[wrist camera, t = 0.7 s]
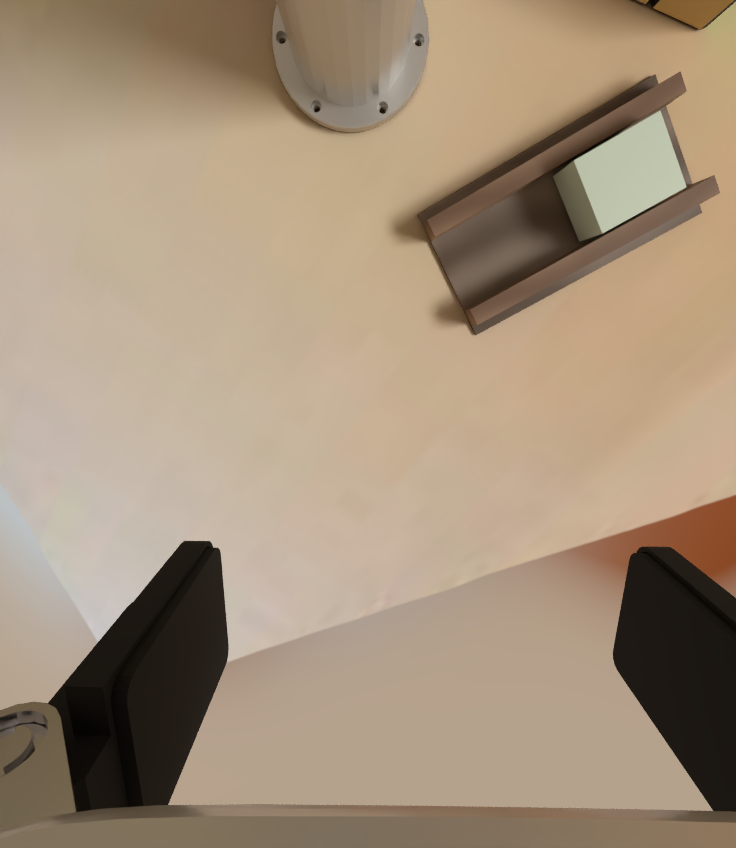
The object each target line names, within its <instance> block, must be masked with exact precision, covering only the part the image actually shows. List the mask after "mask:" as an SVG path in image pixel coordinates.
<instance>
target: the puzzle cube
mask: <svg viewBox="0 0 736 848" xmlns="http://www.w3.org/2000/svg"><path fill="white" fill-rule="evenodd" d="M637 1H639V2H641V3H643V4H645V5H646V4H647V3H649V2H651V3H652V7H653V8H654V9H656V10H658V11H660V12H663V13H665V14H667V15H669V16H671V17H674V18H676V19H678V20H680V21H682V22H685V23H687V24H689V25H691V26H694V27H696V28H698V29H700V30H701V29H703V28H705V27H707V26H708V25H709V24H710V23H711V22H712V21H714V20H715V19H716V18H717V17H718V16H719V15H720V14H722V13H723V12H724V11H725V10H726V9H727V8H728V7H730V6H731V5H732V4H733V3H734V2H735V1H736V0H637Z"/></svg>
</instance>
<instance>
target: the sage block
mask: <svg viewBox="0 0 736 848" xmlns="http://www.w3.org/2000/svg"><path fill="white" fill-rule="evenodd" d="M553 178H554V181H555V183H556V185H557V188H558V190H559V193H560V195H561V198H562V200H563V203H564V205H565V208H566V210H567V213H568V215H569V217H570V220H571V222H572V225H573V227H574V230H575V232H576V235H577V237H578V240H579V242H580V241H583V240H586V239H589V238H591V237H594V236H597V235H600V234H603V233H604V232H606V231H608V230H610V229H612V228H613V227H615V226H617V225H619V224H621V223H622V222H624V221H626V220H628V219H630V218H632V217H633V216H635V215H637V214H639V213H641V212H642V211H644V210H646V209H648V208H650V207H651V206H653V205H655V204H657V203H659V202H661V201H662V200H664V199H666V198H668V197H670V196H671V195H673V194H675V193H677V192H679V191H680V190H682V189H684V188H686V184H685V181H684V178H683V175H682V172H681V169H680V166H679V163H678V160H677V157H676V154H675V152H674V149H673V146H672V143H671V140H670V137H669V134H668V131H667V128H666V125H665V122H664V119H663V116H662V114H661V111H659V112H657V113H655V114H653V115H652V116H650V117H648V118H646V119H645V120H643V121H641V122H640V123H638V124H636V125H634V126H633V127H631V128H629V129H627V130H626V131H624V132H622V133H621V134H619V135H617V136H615V137H614V138H612V139H610V140H608V141H607V142H605V143H603V144H602V145H600V146H598V147H596V148H595V149H593V150H591V151H589V152H588V153H586V154H584V155H583V156H581V157H579V158H577V159H576V160H574V161H573V162H571V163H570V164H569V165H567V166H566V167H565V168H563V169H562V170H561V171H560V172H558V173H557V174H556V175H554V176H553Z"/></svg>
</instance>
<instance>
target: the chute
mask: <svg viewBox="0 0 736 848" xmlns="http://www.w3.org/2000/svg"><path fill="white" fill-rule="evenodd" d="M686 91H687V90H686V87H685V84H684V81H683V78H682V75H681V72H679V73H677V74H675V75H674V76H672V77H670V78H668V79H667V80H665V81H663V82H662V83H660V84H658V81H657V78H656V75H653V76H652V77H650V78H648V79H646V80H645V81H643V82H641V83H640V84H638V85H636V86H635V87H633V88H631V89H629V90H628V91H626V92H624V93H623V94H621V95H619V96H618V97H616V98H614V99H613V100H611V101H609V102H607V103H606V104H604V105H602V106H601V107H599V108H597V109H596V110H594V111H592V112H591V113H589V114H587V115H585V116H584V117H582V118H580V119H579V120H577V121H575V122H574V123H572V124H570V125H569V126H567V127H565V128H563V129H562V130H560V131H558V132H557V133H555V134H553V135H552V136H550V137H548V138H546V139H545V140H543V141H541V142H540V143H538V144H536V145H535V146H533V147H531V148H530V149H528V150H526V151H524V152H523V153H521V154H519V155H518V156H516V157H514V158H513V159H511V160H509V161H508V162H506V163H504V164H502V165H501V166H499V167H497V168H496V169H494V170H492V171H491V172H489V173H487V174H486V175H484V176H482V177H480V178H479V179H477V180H475V181H474V182H472V183H470V184H469V185H467V186H465V187H463V188H462V189H460V190H458V191H457V192H455V193H453V194H452V195H450V196H448V197H447V198H445V199H443V200H441V201H440V202H438V203H436V204H435V205H433V206H431V207H430V208H428V209H426V210H425V211H423V212H421V213H419V214H418V217H419V219H420V221H421V223H422V225H423V227H424V229H425V231H426V233H427V235H428V237H429V240H430V242H431V244H432V246H433V248H434V250H435V252H436V254H437V256H438V258H439V260H440V262H441V264H442V267H443V269H444V271H445V273H446V275H447V277H448V279H449V281H450V283H451V285H452V287H453V289H454V291H455V293H456V296H457V298H458V300H459V302H460V304H461V306H462V308H463V310H464V312H465V314H466V316H467V318H468V320H469V323H470V325H471V327H472V329H473V331H474V333H475V335H477V334H479V333H481V332H483V331H484V330H486V329H488V328H490V327H492V326H494V325H496V324H497V323H499V322H501V321H503V320H505V319H507V318H508V317H510V316H512V315H514V314H516V313H518V312H520V311H521V310H523V309H525V308H527V307H529V306H531V305H532V304H534V303H536V302H538V301H540V300H542V299H544V298H545V297H547V296H549V295H551V294H553V293H555V292H556V291H558V290H560V289H562V288H564V287H566V286H568V285H569V284H571V283H573V282H575V281H577V280H579V279H580V278H582V277H584V276H586V275H588V274H590V273H592V272H593V271H595V270H597V269H599V268H601V267H603V266H604V265H606V264H608V263H610V262H612V261H614V260H616V259H617V258H619V257H621V256H623V255H625V254H627V253H628V252H630V251H632V250H634V249H636V248H638V247H640V246H641V245H643V244H645V243H647V242H649V241H651V240H652V239H654V238H656V237H658V236H660V235H662V234H664V233H665V232H667V231H669V230H671V229H673V228H675V227H676V226H678V225H680V224H682V223H684V222H686V221H688V220H689V219H691V218H693V217H695V216H697V215H699V214H700V213H702V211H701V208H700V205H699V204H701V203H703V202H704V201H706V200H708V199H710V198H712V197H714V196H715V195H717V194H719V193H720V191H719V188H718V185H717V182H716V179H715V176H711V177H709V178H706V179H704V180H701V181H699V182H697V183H694V184H692V181H691V178H690V176H689V173H688V170H687V167H686V164H685V161H684V158H683V155H682V152H681V149H680V146H679V143H678V140H677V137H676V134H675V131H674V128H673V125H672V122H671V119H670V117H669V114H668V111H667V108H666V105H668V104H669V103H671V102H672V101H673V100H675V99H676V98H678V97H679V96H680V95H682V94H683V93H685V92H686ZM659 111H661V114H662V116H663V119H664V122H665V125H666V128H667V131H668V134H669V137H670V140H671V143H672V146H673V149H674V152H675V154H676V157H677V160H678V163H679V166H680V169H681V172H682V175H683V178H684V181H685V184H686V188H684V189H682V190H680V191H679V192H677V193H675V194H673V195H671V196H670V197H668V198H666V199H664V200H662V201H661V202H659V203H657V204H655V205H653V206H651V207H650V208H648V209H646V210H644V211H642V212H641V213H639V214H637V215H635V216H633V217H632V218H630V219H628V220H626V221H624V222H622V223H621V224H619V225H617V226H615V227H613V228H612V229H610V230H608V231H606V232H604V233H603V234H600V235H597V236H594V237H591V238H589V239H586V240H583V241H580V242H579V240H578V237H577V235H576V232H575V230H574V227H573V225H572V222H571V220H570V217H569V215H568V213H567V210H566V208H565V205H564V203H563V200H562V198H561V195H560V193H559V190H558V188H557V185H556V183H555V181H554V178H553V176H554V175H556V174H557V173H558V172H560V171H561V170H562V169H563V168H565V167H566V166H567V165H569V164H570V163H571V162H573V161H574V160H576V159H577V158H579V157H581V156H583V155H584V154H586V153H588V152H589V151H591V150H593V149H595V148H596V147H598V146H600V145H602V144H603V143H605V142H607V141H608V140H610V139H612V138H614V137H615V136H617V135H619V134H621V133H622V132H624V131H626V130H627V129H629V128H631V127H633V126H634V125H636V124H638V123H640V122H641V121H643V120H645V119H646V118H648V117H650V116H652V115H653V114H655V113H657V112H659Z"/></svg>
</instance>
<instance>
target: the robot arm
mask: <svg viewBox="0 0 736 848" xmlns="http://www.w3.org/2000/svg"><path fill="white" fill-rule="evenodd" d="M276 2H277V3H276V7H275V11H274V15H273V24H272V47H273V54H274V59H275V63H276V67H277V70H278V73H279V75H280V78H281V81H282V83H283V85H284V87H285V89H286V91H287V93H288V94H289V96H290V97H291V99H292V100H293V101H294V103H295V104H296V105H297V107H298V108H299V109H300V110H301V111H302V112H303V113H305V114H306V115H307V116H308V117H309V118H310V119H312V120H313V121H315V122H317V123H318V124H320V125H322V126H324V127H327V128H330V129H333V130H335V131H343V132H360V131H366V130H369V129H372V128H376V127H378V126H380V125H382V124H384V123H385V122H387V121H389V120H390V119H392V118H393V117H394V116H395V115H396V114H398V113H399V112H400V111H401V110H402V109H403V108H404V106H405V105H406V104H407V103H408V101H409V100H410V99H411V98H412V96H413V94H414V92H415V90H416V88H417V87H418V85H419V82H420V79H421V76H422V74H423V71H424V68H425V62H426V58H427V53H428V43H429V31H428V18H427V14H426V10H425V6H424V2H423V0H276ZM282 41H285V43H283V44H281V42H282ZM417 43H418V44H420V45H421V46H416V44H417ZM316 108H319V109H320V111H319V112H314V111H315V109H316ZM382 109H383V110H385V113H384V114H382V113H380V110H382ZM227 658H228V635H227V623H226V612H225V600H224V588H223V576H222V564H221V554H220V550H219V548H213V546H212V543H211V542H210V541H184V542H183V543H181V545H180V546H179V547H178V548H177V549H176V551H175V552H174V553H173V554H172V556H171V557H170V558H169V559H168V560H167V562H166V563H165V564H164V565H163V567H162V568H161V569H160V570H159V571H158V573H157V574H156V575H155V576H154V578H153V579H152V580H151V581H150V582H149V584H148V585H147V586H146V587H145V589H144V590H143V591H142V592H141V593H140V595H139V596H138V597H137V598H136V600H135V601H134V602H132V603H131V604H130V605H129V606H128V607H127V608H126V609H125V611H124V612H123V613H122V614H121V615H120V617H119V618H118V619H117V620H116V621H115V623H114V624H113V625H112V626H111V627H110V629H109V630H108V631H107V632H106V634H105V635H104V636H103V637H102V638H101V640H100V641H99V642H98V643H97V644H96V646H95V647H94V648H93V649H92V651H91V652H90V653H89V654H88V655H87V657H86V658H85V659H84V660H83V661H82V663H81V664H80V665H79V666H78V667H77V669H76V670H75V671H74V672H73V674H72V675H71V676H70V677H69V679H68V680H67V681H66V682H65V683H64V684H63V686H62V687H61V688H60V689H59V690H58V692H57V693H56V694H55V696H54V697H53V698H52V699H51V700H50V701H49V703H41V702H29V703H24V704H17V705H14V706H11V707H9V708H6V709H3V710H0V848H736V598H735V597H734V596H732V595H731V594H730V593H729V592H727V591H726V590H725V589H723V588H722V587H721V586H720V585H718V584H717V583H716V582H714V581H713V580H712V579H711V578H709V577H708V576H707V575H706V574H704V573H703V572H702V571H701V570H699V569H698V568H697V567H696V566H694V565H693V564H692V563H690V562H689V561H688V560H686V559H685V558H684V557H683V556H682V555H680V554H679V553H678V552H676V551H675V550H674V549H672V548H670V547H641V548H639V549H638V551H637V553H634V554H632V555H631V557H630V560H629V566H628V571H627V577H626V582H625V588H624V593H623V599H622V604H621V610H620V616H619V621H618V627H617V632H616V638H615V643H614V649H613V659H614V664H615V666H616V668H617V670H618V672H619V673H620V675H621V676H622V678H623V679H624V681H625V682H626V684H627V685H628V687H629V688H630V690H631V691H632V692H633V694H634V695H635V697H636V698H637V700H638V701H639V703H640V704H641V705H642V707H643V709H644V710H645V711H646V713H647V714H648V716H649V717H650V719H651V720H652V722H653V723H654V724H655V726H656V727H657V729H658V730H659V732H660V733H661V735H662V736H663V738H664V739H665V741H666V742H667V743H668V745H669V747H670V748H671V749H672V751H673V752H674V754H675V755H676V757H677V758H678V760H679V761H680V763H681V764H682V765H683V767H684V768H685V770H686V771H687V773H688V774H689V776H690V777H691V779H692V780H693V781H694V783H695V785H696V786H697V787H698V789H699V790H700V792H701V793H702V795H703V796H704V798H705V799H706V800H707V802H708V804H709V805H710V806H711V808H712V809H713V811H683V810H640V809H588V808H531V807H525V808H524V807H465V806H462V807H461V806H381V805H273V804H246V805H168V803H169V801H170V799H171V796H172V794H173V791H174V789H175V786H176V784H177V781H178V779H179V777H180V774H181V772H182V769H183V767H184V764H185V762H186V760H187V757H188V755H189V752H190V750H191V748H192V745H193V743H194V740H195V738H196V735H197V733H198V731H199V728H200V726H201V723H202V721H203V718H204V716H205V714H206V711H207V709H208V706H209V704H210V702H211V699H212V697H213V694H214V692H215V690H216V687H217V685H218V682H219V680H220V677H221V675H222V672H223V670H224V668H225V665H226V662H227Z"/></svg>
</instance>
